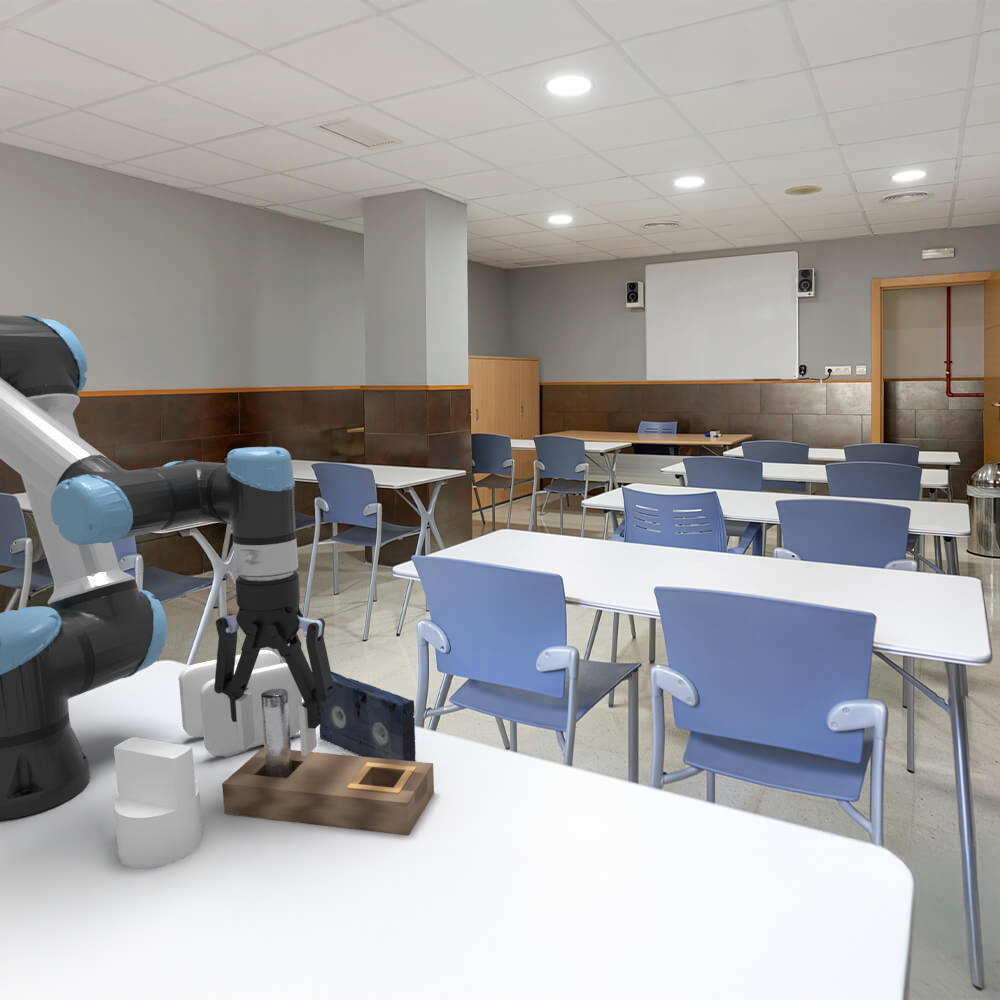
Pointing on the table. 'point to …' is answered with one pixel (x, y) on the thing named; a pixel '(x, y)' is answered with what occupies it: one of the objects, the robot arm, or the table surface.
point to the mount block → (333, 791)
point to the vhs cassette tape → (368, 721)
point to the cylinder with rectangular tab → (156, 803)
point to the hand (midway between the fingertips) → (277, 747)
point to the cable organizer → (212, 710)
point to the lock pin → (276, 733)
